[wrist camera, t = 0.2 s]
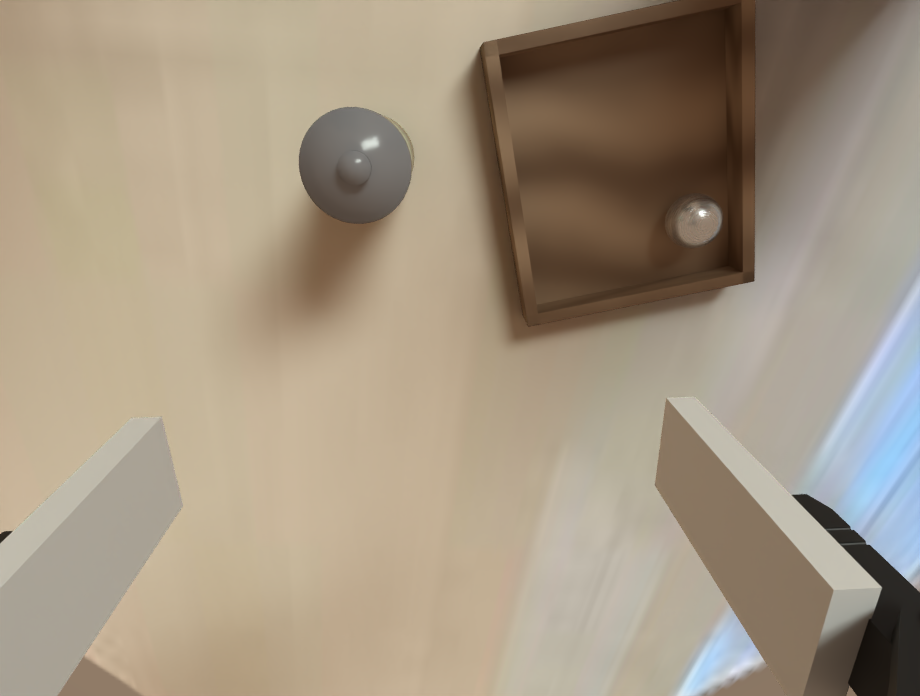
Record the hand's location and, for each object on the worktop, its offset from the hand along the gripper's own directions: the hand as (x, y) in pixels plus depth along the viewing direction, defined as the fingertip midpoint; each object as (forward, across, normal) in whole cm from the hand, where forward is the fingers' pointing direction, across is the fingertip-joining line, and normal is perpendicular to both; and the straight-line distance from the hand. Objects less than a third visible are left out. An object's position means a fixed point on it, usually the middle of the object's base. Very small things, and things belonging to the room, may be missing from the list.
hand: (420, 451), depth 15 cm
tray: (+26, +13, +5) cm, 30 cm away
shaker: (+27, -3, +6) cm, 28 cm away
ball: (+26, +18, +2) cm, 32 cm away
